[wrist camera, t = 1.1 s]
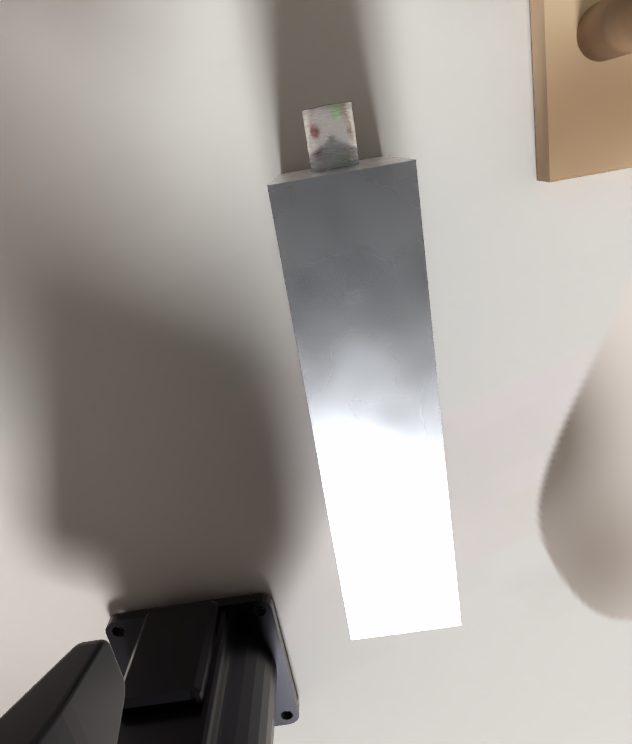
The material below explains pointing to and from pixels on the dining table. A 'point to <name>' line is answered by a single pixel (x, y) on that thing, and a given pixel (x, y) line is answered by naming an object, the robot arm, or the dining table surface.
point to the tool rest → (582, 86)
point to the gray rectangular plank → (369, 375)
